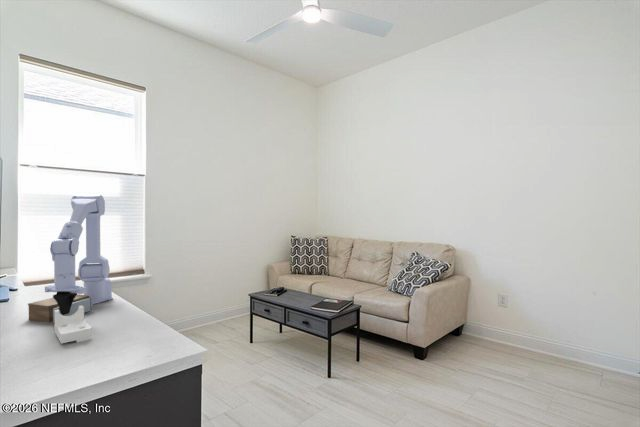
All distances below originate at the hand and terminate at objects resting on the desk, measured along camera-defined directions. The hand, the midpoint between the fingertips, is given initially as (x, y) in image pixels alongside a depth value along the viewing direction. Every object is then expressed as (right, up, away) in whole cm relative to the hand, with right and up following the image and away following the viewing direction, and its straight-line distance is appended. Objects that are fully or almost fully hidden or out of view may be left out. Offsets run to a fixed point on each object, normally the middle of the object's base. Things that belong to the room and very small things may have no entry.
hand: (65, 313), depth 116 cm
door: (0, -2, +5) cm, 5 cm away
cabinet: (-7, -2, +7) cm, 10 cm away
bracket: (+12, -3, -14) cm, 19 cm away
